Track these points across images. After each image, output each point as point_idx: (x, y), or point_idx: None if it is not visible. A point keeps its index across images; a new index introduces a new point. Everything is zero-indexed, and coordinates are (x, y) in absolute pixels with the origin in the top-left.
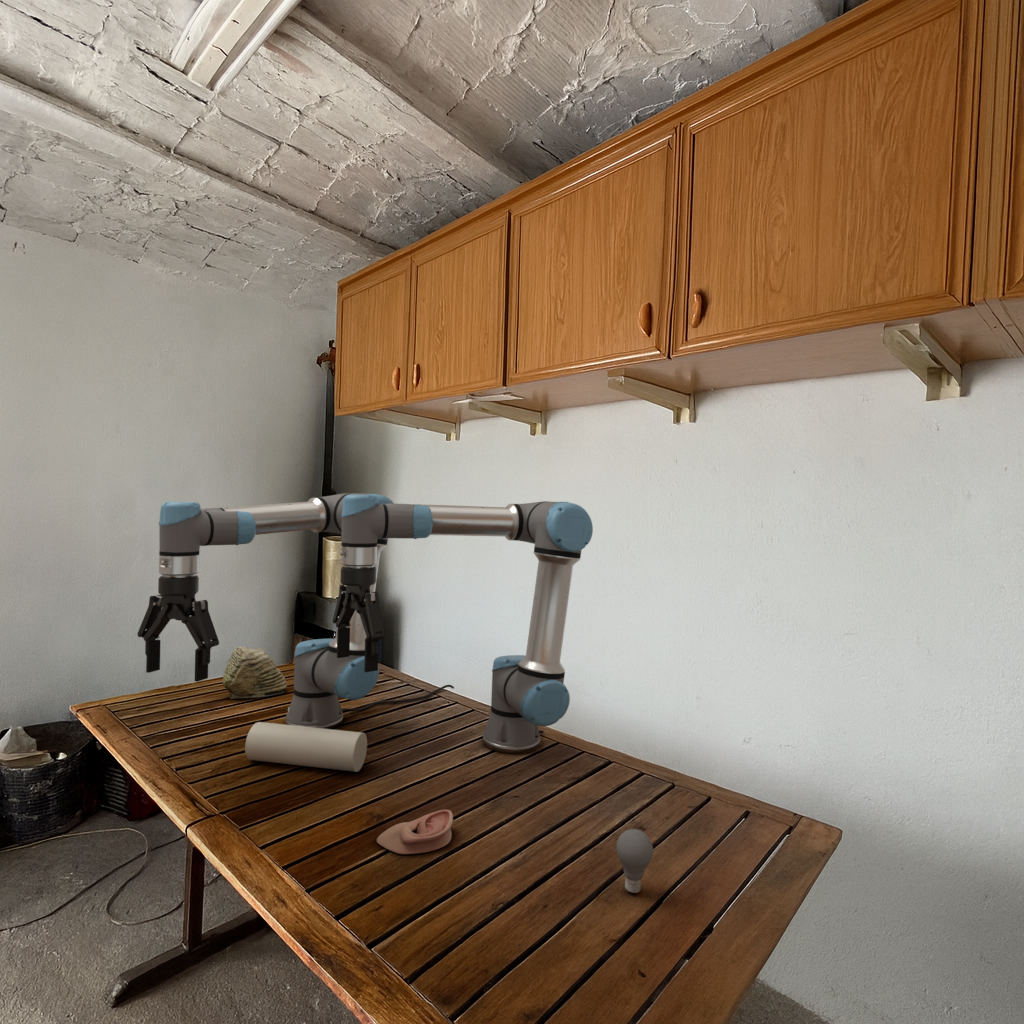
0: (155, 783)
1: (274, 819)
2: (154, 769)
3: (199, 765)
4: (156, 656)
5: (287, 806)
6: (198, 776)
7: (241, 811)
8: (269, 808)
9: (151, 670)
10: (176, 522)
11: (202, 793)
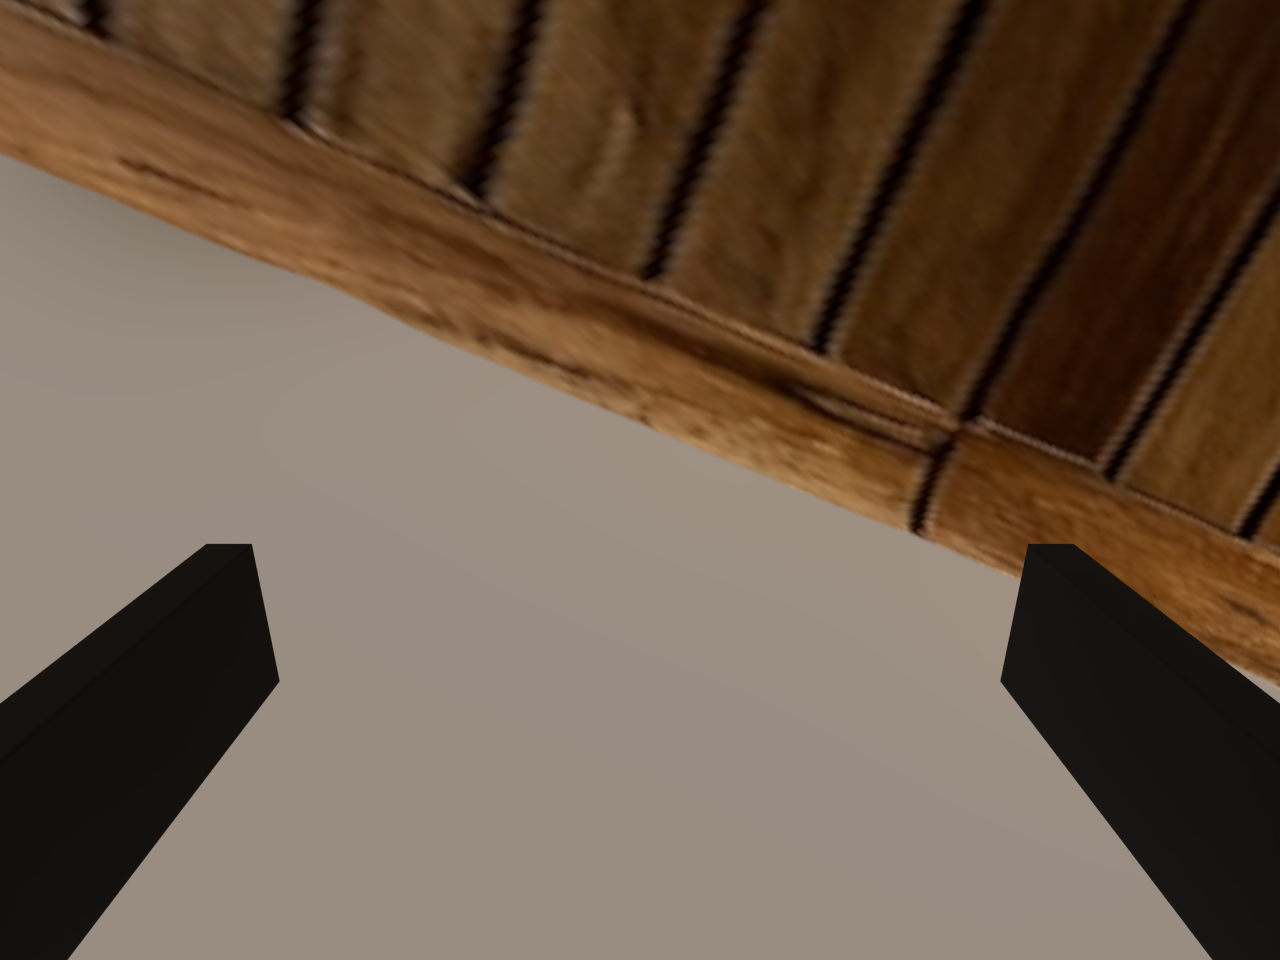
0: (520, 346)
1: (1196, 369)
2: (381, 240)
3: (528, 96)
4: (146, 707)
5: (1198, 258)
6: (628, 203)
7: (1033, 376)
8: (1131, 307)
9: (263, 660)
10: None
11: (777, 327)
